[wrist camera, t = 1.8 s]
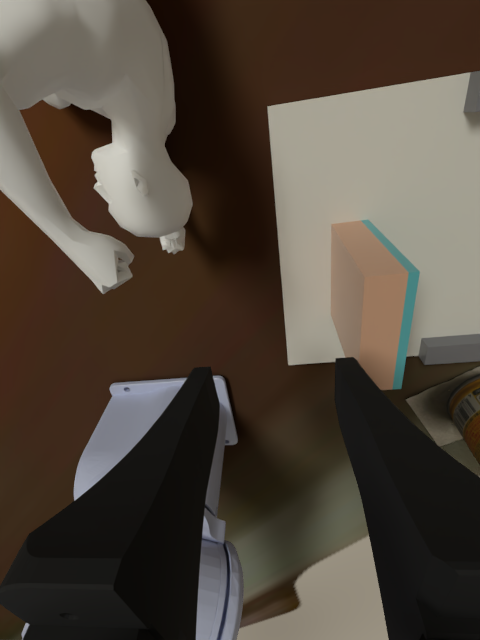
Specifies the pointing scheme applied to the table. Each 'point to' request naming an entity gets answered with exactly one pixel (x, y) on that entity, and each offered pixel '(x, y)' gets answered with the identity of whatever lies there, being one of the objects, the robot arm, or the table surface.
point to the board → (382, 206)
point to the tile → (372, 300)
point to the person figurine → (106, 99)
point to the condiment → (452, 410)
